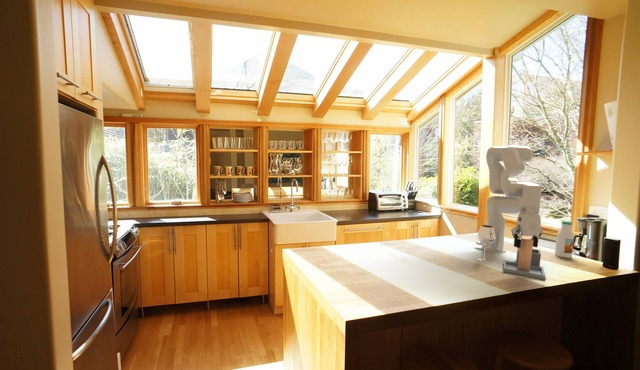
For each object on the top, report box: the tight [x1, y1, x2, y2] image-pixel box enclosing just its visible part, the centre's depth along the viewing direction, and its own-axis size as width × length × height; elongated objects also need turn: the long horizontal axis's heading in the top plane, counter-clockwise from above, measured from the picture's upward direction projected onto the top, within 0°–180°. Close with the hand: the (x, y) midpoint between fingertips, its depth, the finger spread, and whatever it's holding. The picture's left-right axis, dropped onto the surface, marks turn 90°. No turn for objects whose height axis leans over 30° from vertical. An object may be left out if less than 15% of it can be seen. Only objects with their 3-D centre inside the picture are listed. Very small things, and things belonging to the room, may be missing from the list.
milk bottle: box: [554, 220, 575, 259], centre depth 181 cm, size 8×8×20 cm
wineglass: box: [477, 224, 495, 262], centre depth 166 cm, size 8×8×18 cm
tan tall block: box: [517, 237, 534, 272], centre depth 151 cm, size 5×5×15 cm
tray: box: [502, 260, 546, 281], centre depth 152 cm, size 16×14×2 cm
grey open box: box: [515, 247, 542, 267], centre depth 163 cm, size 10×10×8 cm
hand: (525, 246), depth 151 cm, fingers open, 9 cm apart
